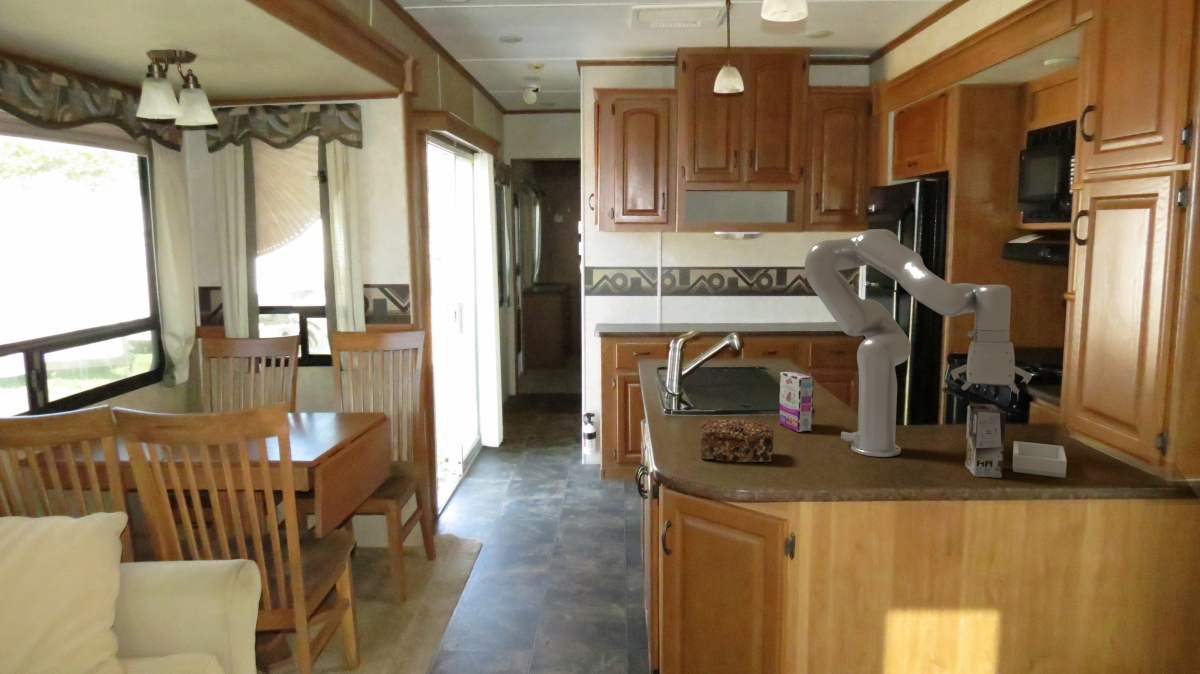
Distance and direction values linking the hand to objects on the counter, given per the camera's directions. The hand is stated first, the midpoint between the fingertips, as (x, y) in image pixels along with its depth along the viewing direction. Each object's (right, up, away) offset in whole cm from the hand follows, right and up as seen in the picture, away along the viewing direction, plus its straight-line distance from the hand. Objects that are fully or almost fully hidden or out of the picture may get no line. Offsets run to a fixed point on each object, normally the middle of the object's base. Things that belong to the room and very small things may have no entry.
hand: (989, 406), depth 183 cm
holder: (+15, -15, +6) cm, 22 cm away
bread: (-58, -15, +18) cm, 62 cm away
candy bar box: (-35, -11, +45) cm, 58 cm away
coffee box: (0, -16, +3) cm, 17 cm away
